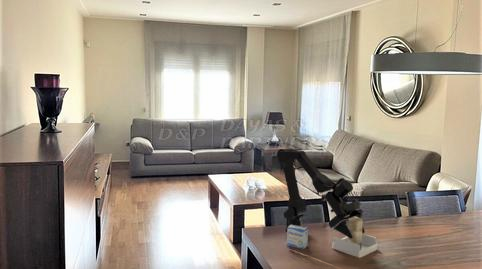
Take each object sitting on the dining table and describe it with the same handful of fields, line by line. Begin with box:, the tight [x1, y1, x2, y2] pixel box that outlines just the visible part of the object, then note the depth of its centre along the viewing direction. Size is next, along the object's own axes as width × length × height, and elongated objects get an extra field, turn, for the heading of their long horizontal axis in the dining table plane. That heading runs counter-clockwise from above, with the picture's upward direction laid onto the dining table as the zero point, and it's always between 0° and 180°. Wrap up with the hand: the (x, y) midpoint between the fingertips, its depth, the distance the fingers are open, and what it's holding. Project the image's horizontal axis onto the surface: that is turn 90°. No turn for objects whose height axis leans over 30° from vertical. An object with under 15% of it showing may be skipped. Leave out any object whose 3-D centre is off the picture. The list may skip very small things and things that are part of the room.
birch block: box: [348, 217, 364, 249], centre depth 172 cm, size 4×4×13 cm
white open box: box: [331, 233, 378, 259], centre depth 172 cm, size 13×13×6 cm
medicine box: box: [286, 225, 309, 249], centre depth 175 cm, size 8×4×9 cm, turn 62°
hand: (358, 235), depth 171 cm, fingers open, 9 cm apart
